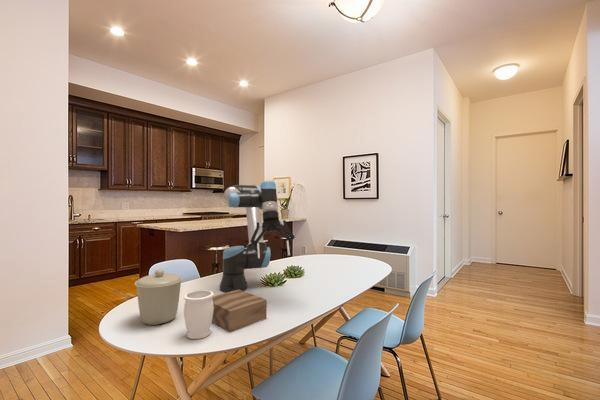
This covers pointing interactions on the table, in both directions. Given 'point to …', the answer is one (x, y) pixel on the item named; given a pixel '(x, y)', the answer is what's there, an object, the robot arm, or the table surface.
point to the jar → (198, 313)
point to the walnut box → (238, 309)
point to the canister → (158, 297)
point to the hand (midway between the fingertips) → (274, 256)
